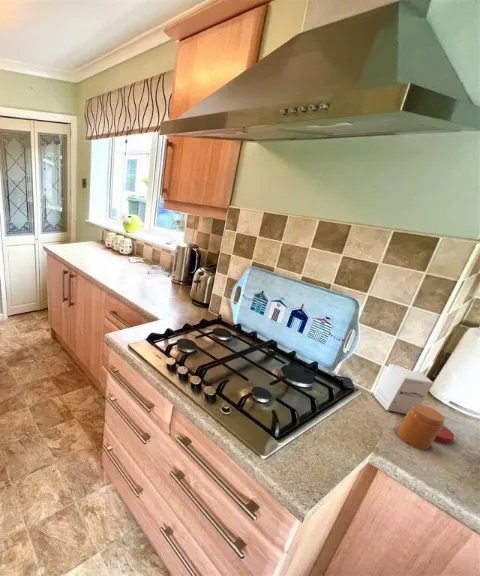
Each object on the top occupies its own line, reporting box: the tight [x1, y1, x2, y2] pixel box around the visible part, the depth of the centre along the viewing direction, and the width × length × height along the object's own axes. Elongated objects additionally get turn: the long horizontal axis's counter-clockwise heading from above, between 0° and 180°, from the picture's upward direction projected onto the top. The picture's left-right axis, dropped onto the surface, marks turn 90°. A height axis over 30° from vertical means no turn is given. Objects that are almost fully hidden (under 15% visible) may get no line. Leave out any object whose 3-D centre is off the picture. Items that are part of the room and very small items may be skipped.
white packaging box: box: [373, 363, 434, 415], centre depth 94 cm, size 7×7×13 cm
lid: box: [434, 425, 455, 444], centre depth 86 cm, size 7×7×2 cm
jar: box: [396, 404, 445, 450], centre depth 82 cm, size 7×7×10 cm
